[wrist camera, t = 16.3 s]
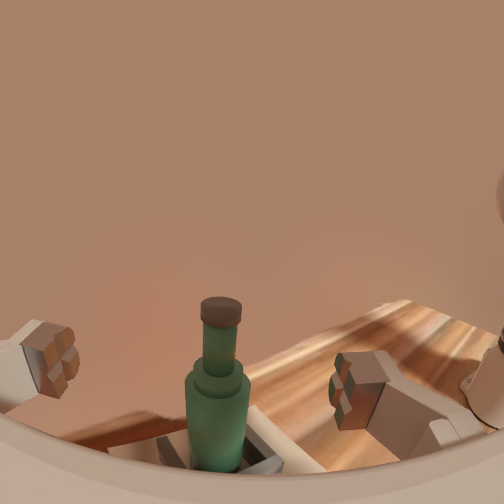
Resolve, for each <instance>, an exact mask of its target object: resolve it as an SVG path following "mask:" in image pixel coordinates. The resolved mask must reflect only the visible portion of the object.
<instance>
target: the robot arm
mask: <svg viewBox="0 0 504 504" xmlns="http://www.w3.org/2000/svg"><path fill="white" fill-rule="evenodd" d="M496 203H497V208H498V212H499V214H500V217H501V219H502V221H503V223H504V171H503V172H502V174H501V176H500V178H499V181H498V184H497V189H496ZM74 341H75V337H74V333H73V330H72V329H71V328H70V327H66V326H61V325H57V324H54V323H49V322H45V321H41V320H37V319H32V320H31V321H30V322H29V323H27V324H26V325H25V326H24V327H23V328H22V329H20V330H19V331H18V332H17V333H16V334H14V335H13V336H12V337H11V338H10V339H9V340H8V341H7V340H2V341H0V504H504V328H503V329H502V332H501V335H500V338H499V340H498V344H497V345H496V346H495V347H493V348H491V349H490V348H488V350H487V351H486V352H485V353H484V356H483V359H482V361H481V363H480V365H479V367H478V369H477V370H475V371H474V372H473V373H472V374H470V375H469V376H468V377H467V378H465V379H464V380H463V381H462V382H461V384H460V385H459V387H460V389H461V390H462V391H463V393H464V394H465V395H466V397H467V399H468V403H469V405H470V407H471V409H472V410H473V412H474V413H475V414H476V415H477V416H478V417H479V418H480V419H481V420H483V421H484V422H485V423H487V424H489V425H491V426H493V427H495V428H498V429H499V430H497V431H494V432H492V433H489V434H487V433H486V431H485V430H484V429H483V427H482V426H481V424H480V423H479V422H478V420H477V419H476V417H475V416H474V415H473V413H472V412H471V411H470V410H469V409H467V408H465V407H463V406H461V405H459V404H457V403H455V402H453V401H451V400H449V399H447V398H445V397H443V396H441V395H439V394H437V393H435V392H433V391H431V390H429V389H427V388H425V387H423V386H421V385H419V384H417V383H415V382H414V381H412V380H406V379H405V378H404V376H403V375H402V373H401V372H400V370H399V369H398V367H397V366H396V364H395V363H394V361H393V360H392V358H391V357H390V355H389V354H388V352H387V351H385V350H379V351H369V352H349V353H338V354H337V356H336V359H335V363H334V365H335V368H336V370H337V371H336V372H335V373H334V374H333V375H331V378H330V382H329V400H330V403H331V405H332V406H333V407H334V408H336V411H335V414H334V416H335V420H336V423H337V426H338V429H339V431H343V430H357V429H366V431H368V432H369V433H370V434H371V435H372V436H373V437H374V438H376V439H377V440H378V441H379V442H380V443H381V444H383V445H384V446H385V447H386V448H387V449H388V450H390V451H391V452H392V453H393V454H394V455H395V456H397V457H398V458H399V459H400V460H401V461H397V462H392V463H387V464H382V465H376V466H370V467H364V468H357V469H350V470H342V471H333V472H322V473H308V474H283V475H257V474H232V473H218V472H207V471H198V470H190V469H182V468H175V467H169V466H163V465H157V464H152V463H147V462H142V461H137V460H133V459H128V458H124V457H120V456H116V455H112V454H108V453H105V452H101V451H98V450H94V449H91V448H87V447H84V446H81V445H78V444H75V443H72V442H69V441H66V440H63V439H61V438H58V437H55V436H53V435H50V434H47V433H45V432H42V431H40V430H37V429H35V428H33V427H30V426H28V425H26V424H23V423H21V422H19V421H17V420H15V419H12V418H11V417H9V416H6V415H4V414H5V413H7V412H8V411H10V410H12V409H13V408H15V407H17V406H18V405H20V404H22V403H24V402H25V401H27V400H29V399H31V398H33V397H34V396H36V395H38V393H41V394H44V395H47V396H50V397H54V398H57V399H59V398H60V397H61V396H62V394H63V393H64V391H65V390H66V389H67V387H68V384H67V381H69V380H71V379H73V378H74V377H75V376H76V374H77V373H78V369H79V365H80V362H79V354H78V351H77V350H76V348H75V347H74V346H73V343H74Z"/></svg>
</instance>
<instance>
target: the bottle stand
mask: <svg viewBox="0 0 504 504" xmlns="http://www.w3.org/2000/svg"><path fill="white" fill-rule="evenodd" d="M107 449H108V452H109V454H112V455H116V456H120V457H124V458H128V459H133V460H137V461H142V462H147V463H152V464H157V465H163V466H169V467H175V468H182V469H190V470H191V466H190V455H189V443H188V430H187V428H186V429H183V430H179V431H176V432H172V433H169V434H165V435H162V436H158V437H154V438H150V439H146V440H142V441H138V442H134V443H129V444H125V445H120V446H115V447H111V448H107ZM322 472H328V471H327V470H326V469H324V468H323V467H322V466H321V465H320V464H318V463H317V462H316V461H315V460H314V459H313V458H311V457H310V456H309V455H308V454H307V453H306V452H304V451H303V450H302V449H301V448H300V447H299V446H298V445H297V444H295V443H294V442H293V441H292V440H291V439H290V438H289V437H288V436H287V435H286V434H284V433H283V432H282V431H281V430H280V429H279V428H278V427H277V426H276V425H275V424H274V423H273V422H272V421H271V420H270V419H269V418H267V417H266V416H265V415H264V414H263V413H262V412H261V411H260V410H259V409H258V408H257V407H256V406H255V405H253V406H250V407H248V413H247V421H246V430H245V438H244V446H243V454H242V462H241V469H240V472H238V473H235V474H257V475H283V474H308V473H322Z"/></svg>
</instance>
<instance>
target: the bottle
mask: <svg viewBox="0 0 504 504" xmlns="http://www.w3.org/2000/svg"><path fill="white" fill-rule="evenodd" d="M241 311H242V305H241V303H240V302H238V301H236V300H234V299H231V298H227V297H211V298H207V299H205V300H204V301H202V302H201V320H202V321H203V357H201V358H199V359H198V360H197V361H196V362H195V364H194V370H193V371H191V372H190V373H189V374H188V375H187V377H186V379H185V397H186V415H187V430H188V443H189V455H190V466H191V470H198V471H207V472H218V473H232V474H235V473H238V472H240V469H241V462H242V454H243V446H244V438H245V430H246V421H247V413H248V405H249V397H250V388H251V384H250V381H249V379H248V377H247V376H246V375H245V374H244V373H243V366H242V364H241V363H240V362H239V361H238V360H236V359H235V351H236V337H237V325H238V324H239V323H240V321H241Z"/></svg>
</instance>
